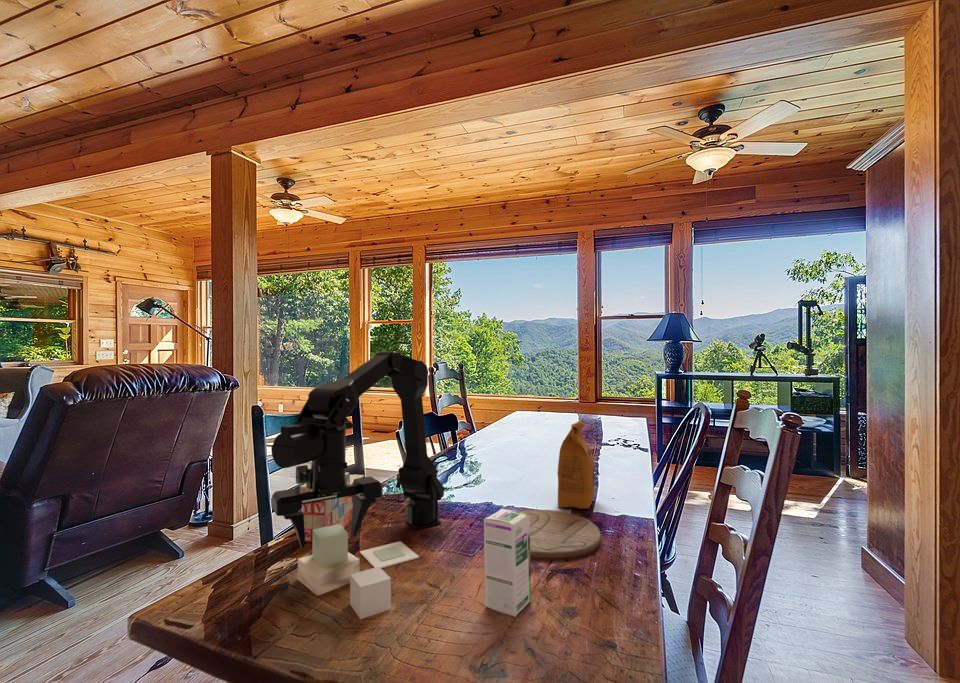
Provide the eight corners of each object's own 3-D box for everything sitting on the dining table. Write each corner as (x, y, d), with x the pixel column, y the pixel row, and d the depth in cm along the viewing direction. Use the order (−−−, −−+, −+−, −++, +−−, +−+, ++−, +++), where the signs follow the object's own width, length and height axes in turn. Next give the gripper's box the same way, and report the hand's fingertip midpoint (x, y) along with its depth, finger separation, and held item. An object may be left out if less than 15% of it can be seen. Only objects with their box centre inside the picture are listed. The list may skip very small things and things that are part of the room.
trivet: (611, 528, 109) (611, 519, 109) (582, 572, 87) (582, 562, 87) (515, 510, 121) (515, 503, 121) (467, 546, 99) (467, 537, 99)
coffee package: (600, 499, 129) (599, 420, 129) (590, 513, 117) (589, 427, 118) (565, 494, 133) (564, 418, 133) (552, 508, 122) (552, 424, 122)
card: (400, 542, 100) (400, 540, 100) (418, 557, 92) (418, 555, 92) (359, 552, 95) (359, 550, 95) (376, 569, 87) (376, 567, 87)
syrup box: (515, 618, 71) (515, 524, 72) (483, 607, 74) (483, 517, 75) (531, 601, 76) (531, 513, 77) (500, 591, 79) (500, 506, 80)
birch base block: (338, 566, 89) (338, 545, 89) (359, 581, 84) (359, 559, 84) (297, 581, 84) (297, 558, 84) (317, 597, 78) (317, 573, 78)
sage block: (347, 560, 83) (347, 532, 83) (319, 567, 80) (319, 538, 81) (339, 550, 87) (339, 524, 87) (312, 557, 85) (312, 529, 85)
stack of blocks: (342, 509, 122) (343, 462, 122) (365, 510, 121) (365, 463, 121) (298, 542, 100) (299, 485, 101) (325, 544, 99) (325, 486, 100)
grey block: (379, 596, 78) (379, 566, 78) (390, 609, 74) (390, 578, 74) (350, 605, 75) (350, 574, 75) (360, 619, 71) (360, 587, 71)
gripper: (363, 443, 96) (362, 518, 96) (266, 454, 86) (265, 538, 85) (383, 452, 87) (383, 535, 87) (277, 466, 76) (277, 561, 76)
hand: (328, 541), depth 84 cm, fingers open, 9 cm apart
